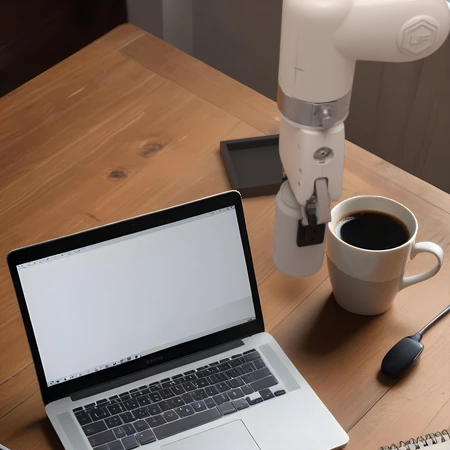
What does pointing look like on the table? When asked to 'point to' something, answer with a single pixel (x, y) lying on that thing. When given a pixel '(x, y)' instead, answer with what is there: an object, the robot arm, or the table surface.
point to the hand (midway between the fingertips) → (301, 221)
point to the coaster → (253, 165)
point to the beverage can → (294, 237)
